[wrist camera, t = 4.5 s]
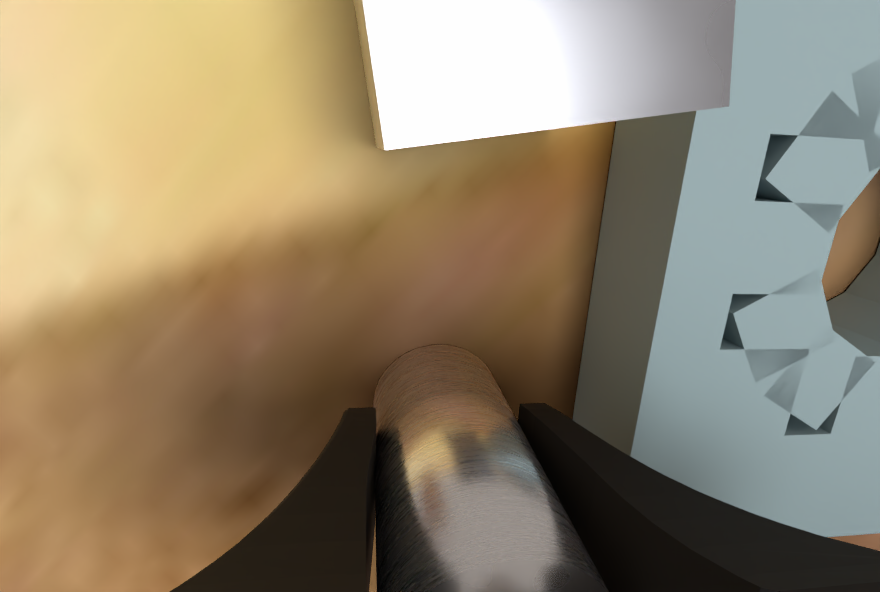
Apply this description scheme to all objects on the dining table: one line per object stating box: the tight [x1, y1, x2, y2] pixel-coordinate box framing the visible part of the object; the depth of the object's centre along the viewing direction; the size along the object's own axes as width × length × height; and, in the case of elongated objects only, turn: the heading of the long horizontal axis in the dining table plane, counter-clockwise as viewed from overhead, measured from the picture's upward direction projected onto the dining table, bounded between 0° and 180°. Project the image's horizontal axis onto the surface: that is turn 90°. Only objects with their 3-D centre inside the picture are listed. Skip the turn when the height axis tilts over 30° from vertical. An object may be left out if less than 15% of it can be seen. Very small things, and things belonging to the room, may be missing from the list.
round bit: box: [373, 344, 609, 592], centre depth 10 cm, size 3×3×7 cm
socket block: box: [572, 0, 880, 537], centre depth 12 cm, size 15×12×3 cm
